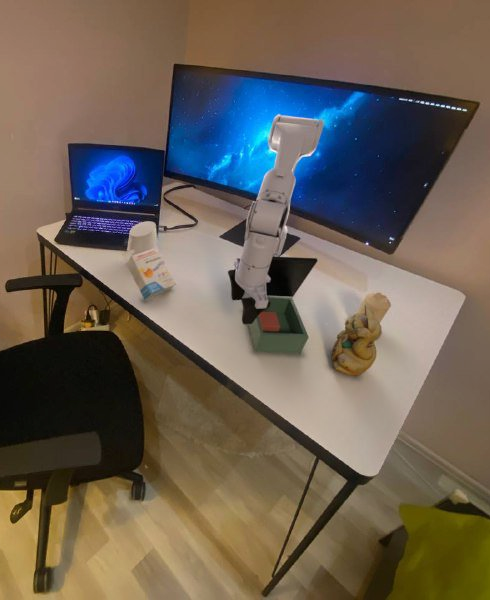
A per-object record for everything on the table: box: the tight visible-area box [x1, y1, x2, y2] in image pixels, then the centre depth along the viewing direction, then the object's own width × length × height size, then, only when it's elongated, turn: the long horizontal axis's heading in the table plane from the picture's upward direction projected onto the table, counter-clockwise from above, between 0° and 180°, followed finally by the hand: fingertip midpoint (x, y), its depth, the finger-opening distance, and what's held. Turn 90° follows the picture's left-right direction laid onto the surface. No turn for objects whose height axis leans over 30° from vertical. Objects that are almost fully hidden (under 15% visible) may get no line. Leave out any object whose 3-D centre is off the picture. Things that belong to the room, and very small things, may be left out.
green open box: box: [247, 295, 309, 355], centre depth 84 cm, size 14×11×6 cm
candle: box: [354, 292, 392, 324], centre depth 84 cm, size 6×6×10 cm
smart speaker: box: [126, 220, 159, 256], centre depth 101 cm, size 10×9×14 cm
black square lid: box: [266, 256, 318, 298], centre depth 82 cm, size 14×11×5 cm
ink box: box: [122, 246, 177, 301], centre depth 94 cm, size 8×5×15 cm
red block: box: [259, 312, 280, 333], centre depth 83 cm, size 4×4×5 cm
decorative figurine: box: [330, 305, 383, 377], centre depth 74 cm, size 10×8×15 cm
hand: (241, 310), depth 77 cm, fingers open, 7 cm apart
